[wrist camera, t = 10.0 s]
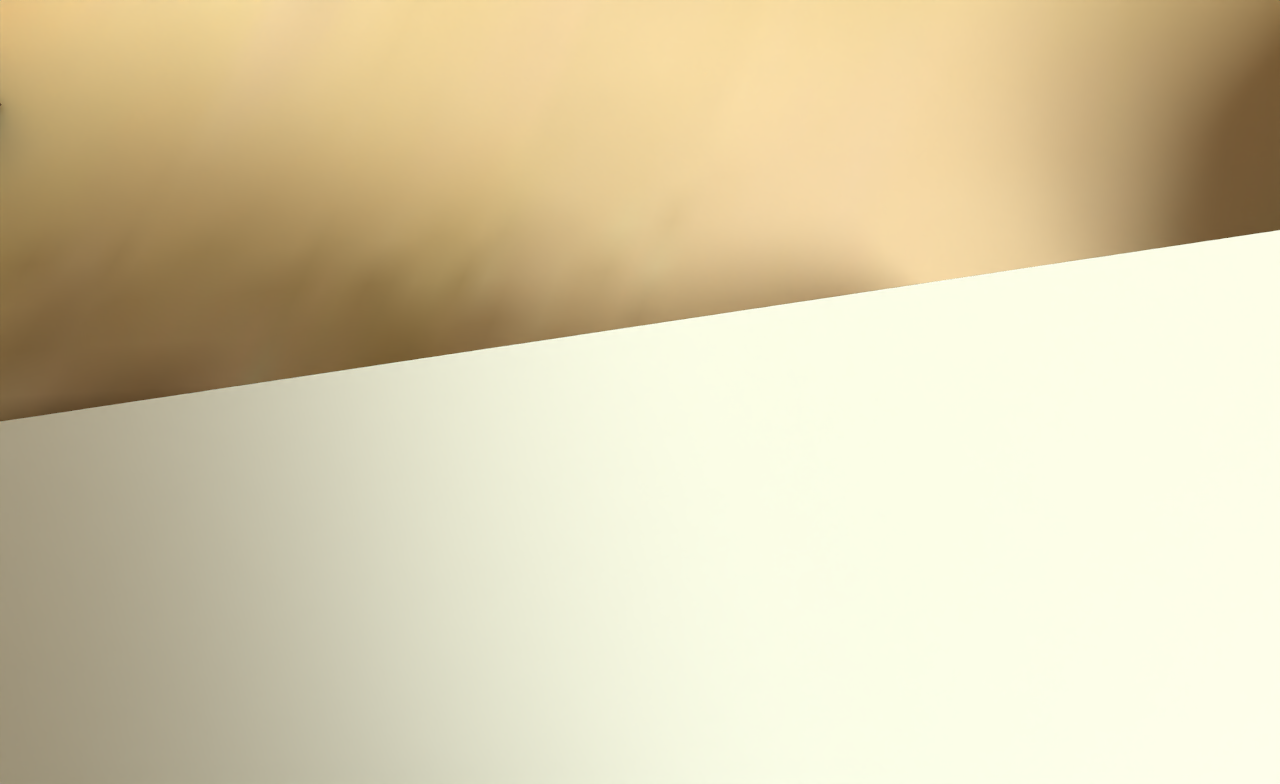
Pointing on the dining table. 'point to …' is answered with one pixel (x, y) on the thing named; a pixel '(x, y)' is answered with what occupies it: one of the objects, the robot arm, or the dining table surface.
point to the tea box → (684, 551)
